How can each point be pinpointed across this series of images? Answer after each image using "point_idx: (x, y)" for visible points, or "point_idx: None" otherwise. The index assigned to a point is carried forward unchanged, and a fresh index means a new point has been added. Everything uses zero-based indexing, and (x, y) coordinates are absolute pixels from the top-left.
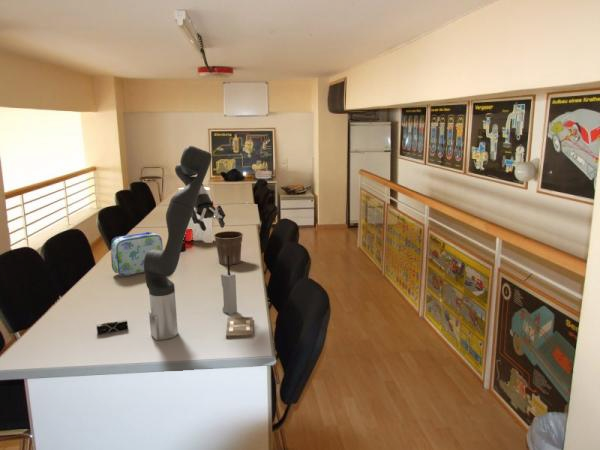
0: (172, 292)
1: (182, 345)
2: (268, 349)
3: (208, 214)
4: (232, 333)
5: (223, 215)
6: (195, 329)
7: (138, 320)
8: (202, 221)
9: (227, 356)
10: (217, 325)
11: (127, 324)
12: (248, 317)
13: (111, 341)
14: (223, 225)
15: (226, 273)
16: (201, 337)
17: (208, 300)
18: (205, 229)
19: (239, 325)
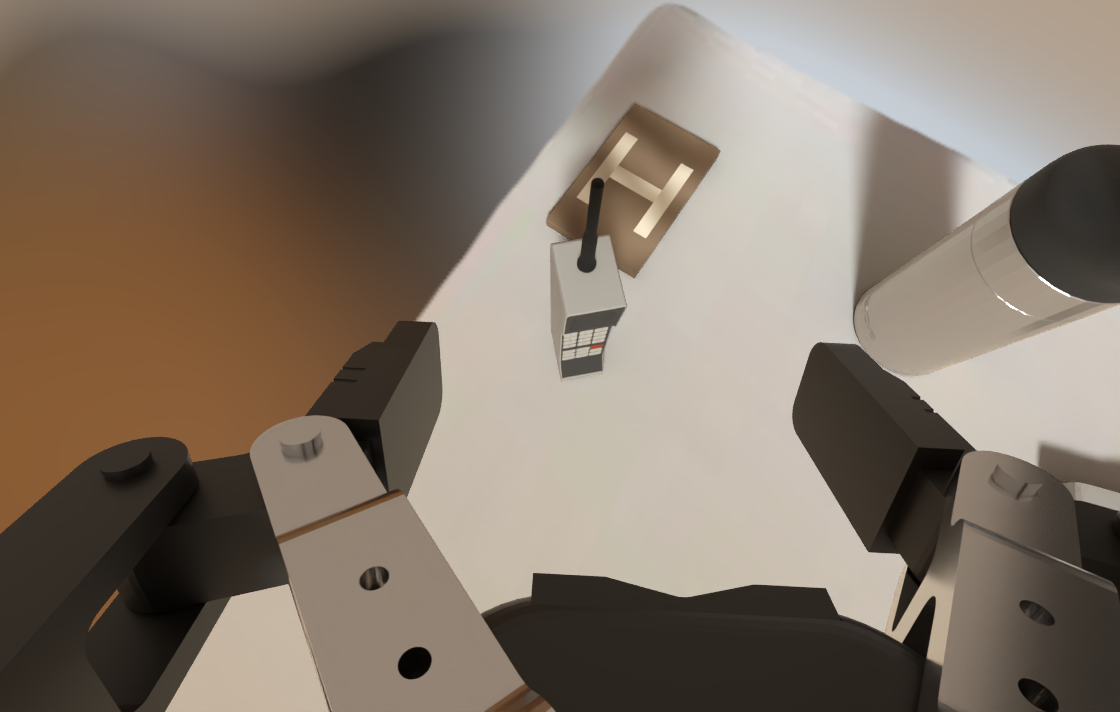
0: (1035, 173)
1: (871, 208)
2: (642, 23)
3: (717, 626)
4: (692, 148)
5: (170, 456)
6: (781, 293)
7: None
8: (942, 443)
9: (771, 62)
10: (690, 269)
11: (1062, 483)
12: (563, 223)
13: (1116, 413)
14: (421, 325)
15: (586, 295)
16: (788, 219)
17: (580, 562)
18: (813, 368)
19: (635, 185)
